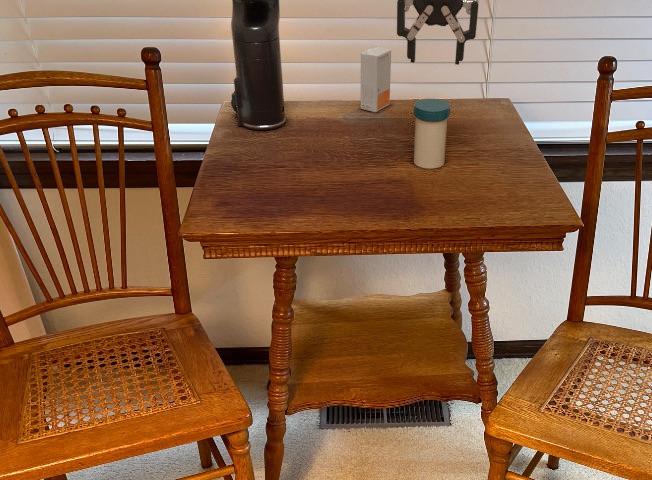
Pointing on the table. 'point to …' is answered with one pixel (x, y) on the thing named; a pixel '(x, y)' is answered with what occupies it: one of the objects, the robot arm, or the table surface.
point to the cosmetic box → (375, 78)
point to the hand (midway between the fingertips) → (434, 62)
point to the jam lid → (431, 110)
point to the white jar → (430, 143)
